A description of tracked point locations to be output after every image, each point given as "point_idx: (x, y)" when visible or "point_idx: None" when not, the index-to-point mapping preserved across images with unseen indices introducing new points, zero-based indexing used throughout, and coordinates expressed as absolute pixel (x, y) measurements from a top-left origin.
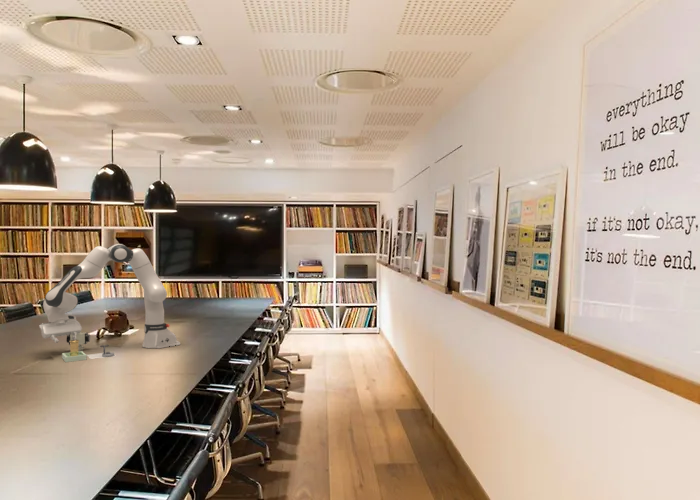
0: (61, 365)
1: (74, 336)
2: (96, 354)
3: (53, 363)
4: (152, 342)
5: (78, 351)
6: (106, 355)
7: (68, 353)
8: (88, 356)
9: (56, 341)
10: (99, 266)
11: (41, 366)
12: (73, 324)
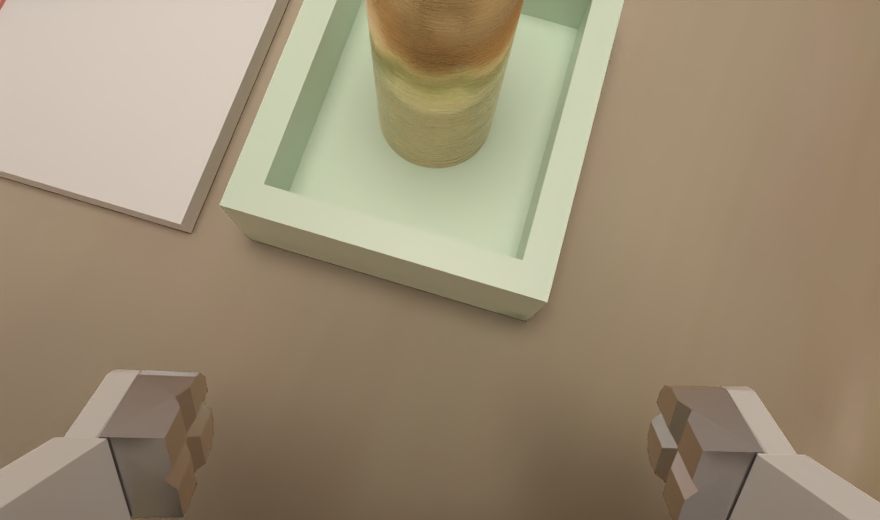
0: (664, 5)
1: (122, 419)
2: (72, 123)
3: (699, 181)
4: None
5: (282, 221)
6: None
7: (456, 243)
8: (228, 92)
9: (722, 386)
10: None
11: (865, 139)
12: None
